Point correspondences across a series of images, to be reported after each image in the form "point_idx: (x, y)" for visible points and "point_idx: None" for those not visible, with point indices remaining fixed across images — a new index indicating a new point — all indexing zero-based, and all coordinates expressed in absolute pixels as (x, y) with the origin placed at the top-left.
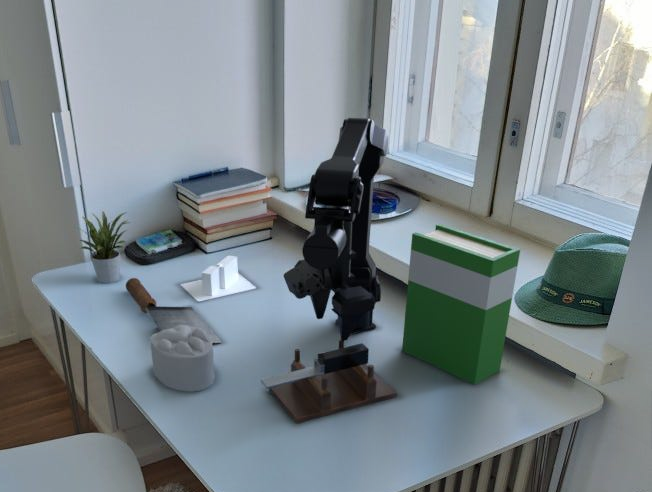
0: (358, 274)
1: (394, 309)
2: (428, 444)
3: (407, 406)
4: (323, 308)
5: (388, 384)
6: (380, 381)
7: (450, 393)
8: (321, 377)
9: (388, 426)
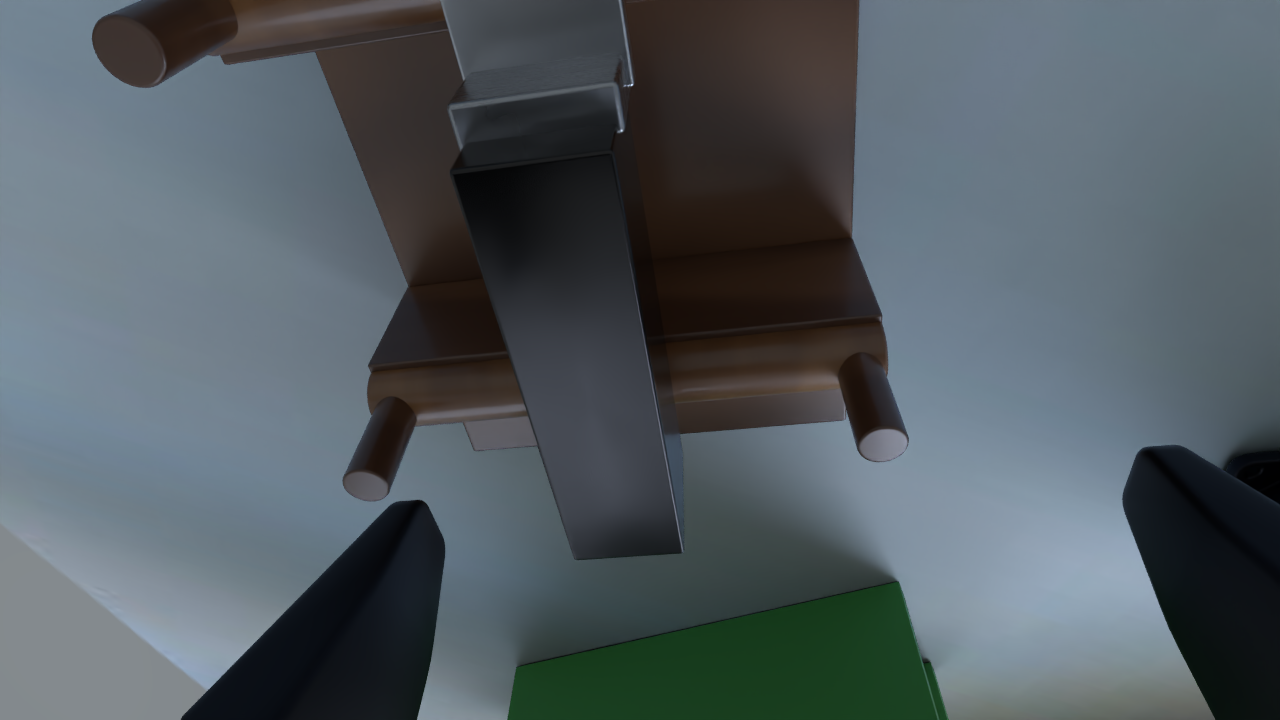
0: None
1: None
2: (33, 401)
3: None
4: (1203, 647)
5: None
6: None
7: (470, 595)
8: (790, 113)
9: (183, 300)
